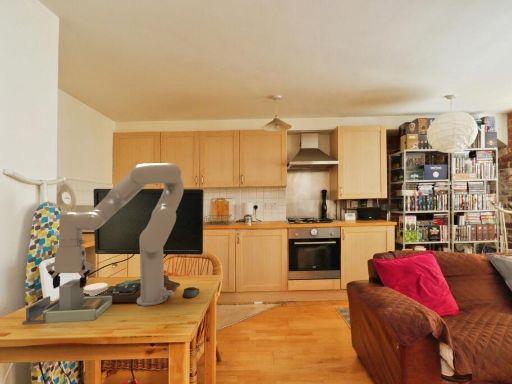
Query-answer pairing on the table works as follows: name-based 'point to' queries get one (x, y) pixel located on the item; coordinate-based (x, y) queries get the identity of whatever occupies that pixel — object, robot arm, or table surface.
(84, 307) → the offcut upper
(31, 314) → the stand
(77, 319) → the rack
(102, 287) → the white fluted dish
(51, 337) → the table surface
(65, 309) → the sheet
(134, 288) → the disk drive
